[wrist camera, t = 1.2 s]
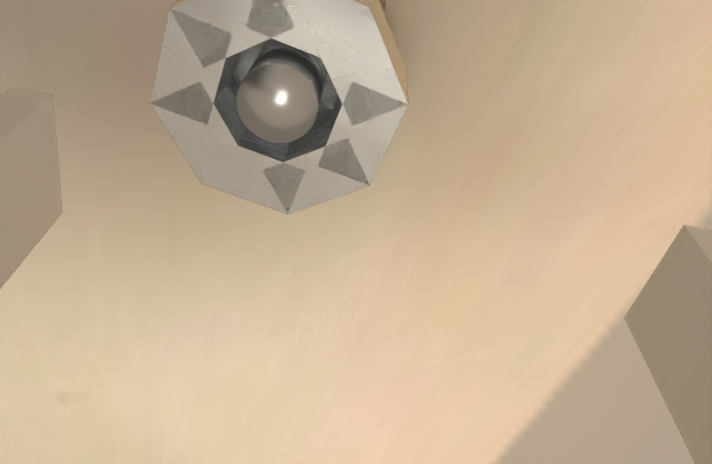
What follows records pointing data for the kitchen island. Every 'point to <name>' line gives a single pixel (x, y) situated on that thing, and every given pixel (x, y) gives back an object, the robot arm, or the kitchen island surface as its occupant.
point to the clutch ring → (331, 127)
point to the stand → (282, 90)
